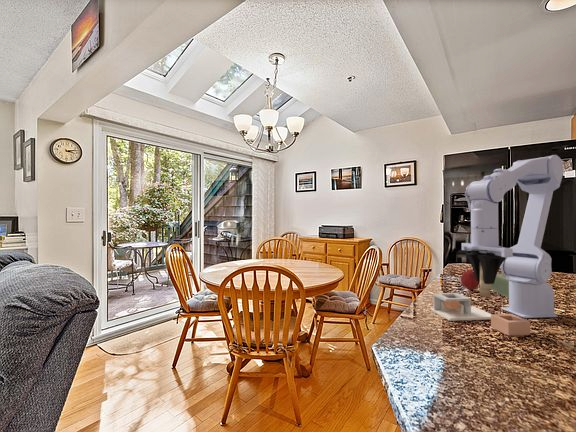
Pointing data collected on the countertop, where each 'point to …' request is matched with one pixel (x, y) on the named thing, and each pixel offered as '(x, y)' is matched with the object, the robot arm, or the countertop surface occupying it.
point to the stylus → (483, 285)
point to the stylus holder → (510, 324)
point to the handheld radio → (501, 285)
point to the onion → (469, 280)
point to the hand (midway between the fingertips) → (484, 282)
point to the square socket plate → (458, 313)
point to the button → (452, 304)
